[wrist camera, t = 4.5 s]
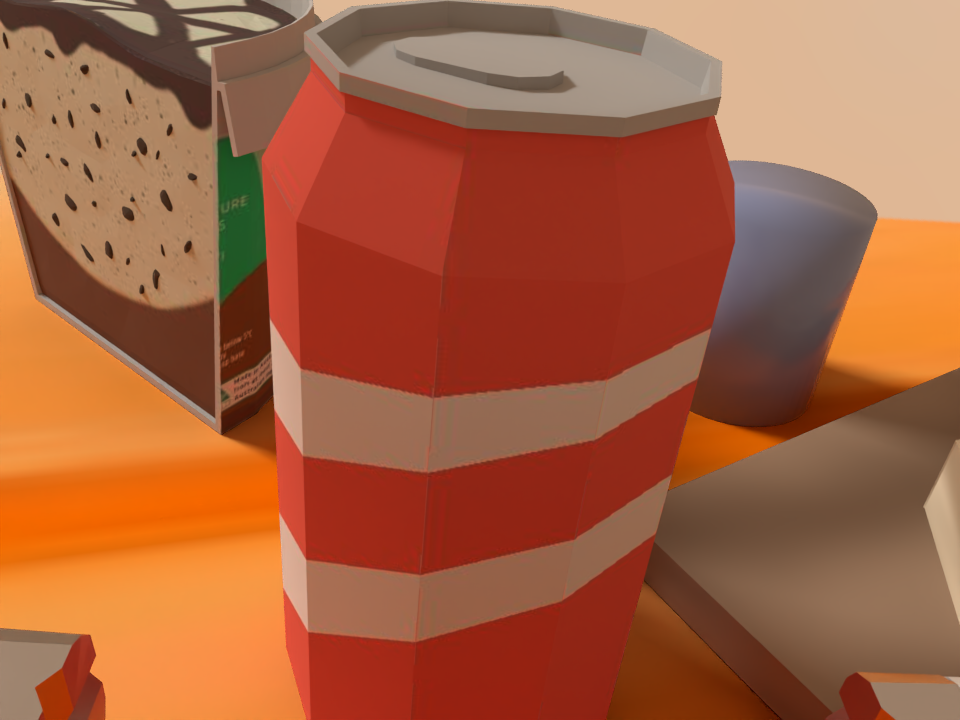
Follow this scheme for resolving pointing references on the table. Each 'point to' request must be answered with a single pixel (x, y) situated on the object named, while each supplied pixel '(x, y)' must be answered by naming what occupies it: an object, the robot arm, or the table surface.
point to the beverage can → (484, 348)
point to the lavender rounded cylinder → (781, 293)
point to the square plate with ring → (826, 553)
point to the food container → (153, 179)
